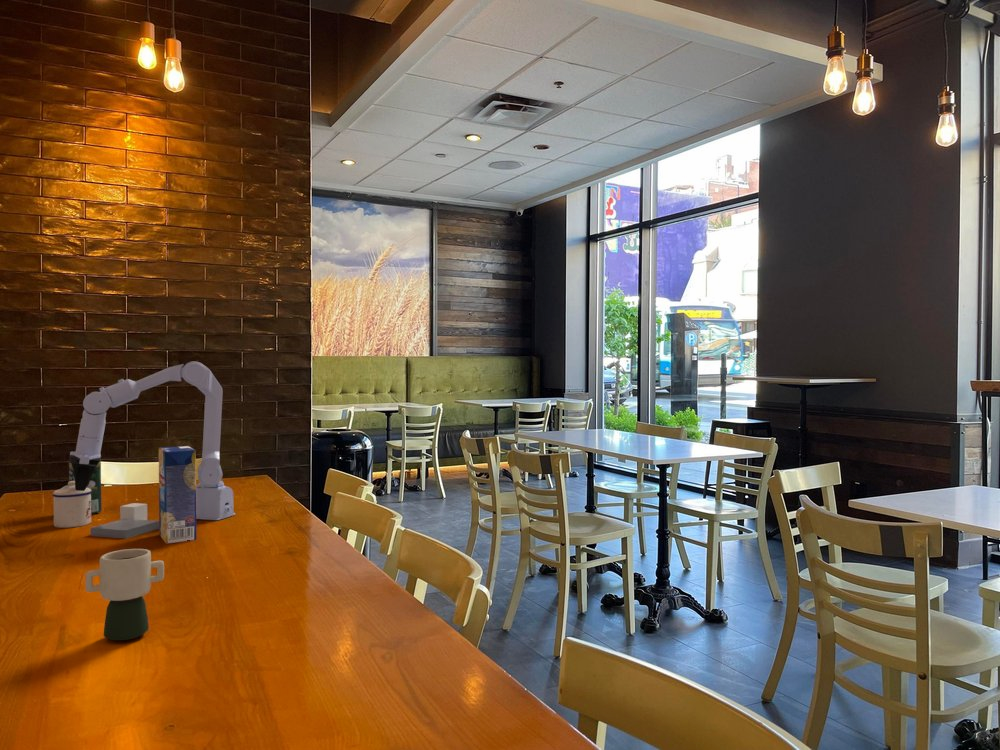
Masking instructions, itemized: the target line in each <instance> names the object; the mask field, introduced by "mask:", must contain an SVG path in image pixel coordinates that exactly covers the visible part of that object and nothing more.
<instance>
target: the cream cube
mask: <svg viewBox="0 0 1000 750" xmlns="http://www.w3.org/2000/svg"><path fill="white" fill-rule="evenodd" d="M119 507H120V508H119V509H120V511H119V514H120V517H119V520H122V519H137V520H148V504H147V503H138V502H133V503H128V504H124V505H120V506H119Z"/></svg>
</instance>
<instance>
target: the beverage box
mask: <svg viewBox="0 0 1000 750" xmlns="http://www.w3.org/2000/svg"><path fill="white" fill-rule="evenodd" d="M196 452H197V450H196V449H194V448H193V447H191V446H189V445H184V446H183V445H182V446H167V447H158V511H159V512H158V513H159V514H158V515H159V517H158V518H159V520H158V521H159V529H158V530H159V531H158V533H159V537H160V538H161V539H162V540H163V541H164V543H165V544H173V543H181V542H188V541H187V540H190V541H195V540H194V539H197V519H196V515H197V511H196V484H197V457H196V456H197V455H196V454H197V453H196Z"/></svg>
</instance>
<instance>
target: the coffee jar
mask: <svg viewBox="0 0 1000 750" xmlns="http://www.w3.org/2000/svg"><path fill="white" fill-rule="evenodd" d="M73 452H76V450H75V451H73ZM101 457H102V456H101ZM101 457H100V458H96V459H99V460H100V462H99V463H98V465H97V466H96V468H95V470H94V472H93V474H92V477H91V480H90V482H89V485H88V486H87V487H86V488H90V489H91V491H92V493H91V516H92V515H94V514H99V513H101V512H102V510H103V507H102V506H103V505H102V504H103V503H102V460H101V459H102V458H101ZM76 459H80V458H78V457H76V456H74V455H70V454H69V457H68V482H69V481H75V474H74V470H73V467H72V462H76Z"/></svg>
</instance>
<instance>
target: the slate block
mask: <svg viewBox="0 0 1000 750" xmlns="http://www.w3.org/2000/svg"><path fill="white" fill-rule="evenodd" d="M156 530H159V520H152V519H151V520H150V519H147V520H137V519H122V520H120V519H119V520H115V521H111V522H107V523H103V524H100V525H95V526H91V527H90V536H91V537H103V538H114V539H129V538H132V537H135V536H139V535H144V534H146V533H150V532H152V531H156Z"/></svg>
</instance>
